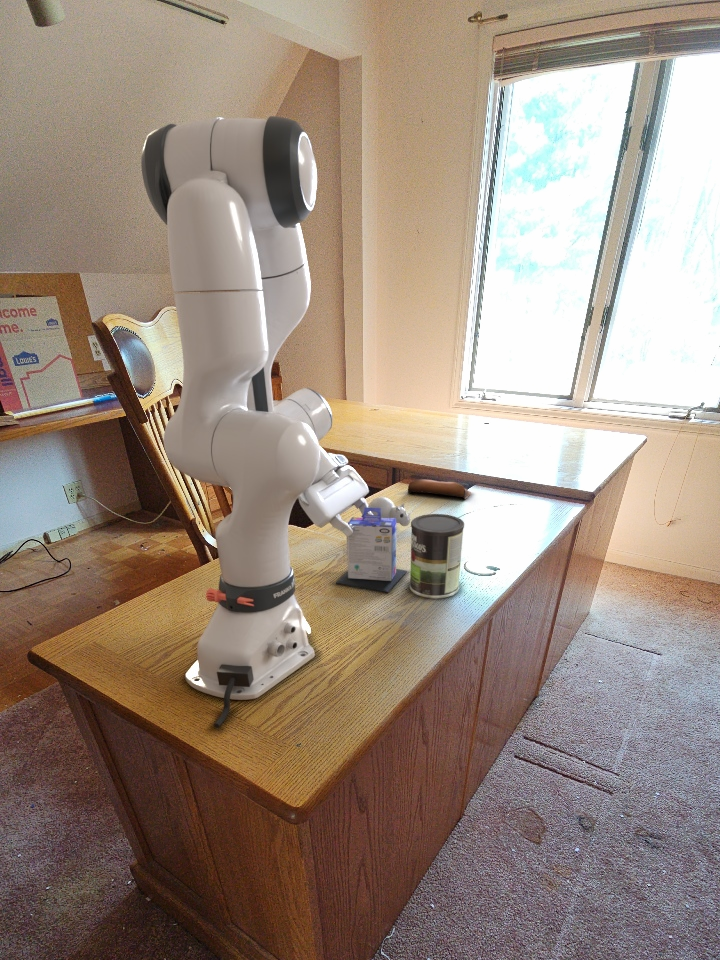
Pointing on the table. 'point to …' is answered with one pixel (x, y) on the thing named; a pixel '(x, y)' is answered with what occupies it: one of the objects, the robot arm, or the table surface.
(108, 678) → the table surface
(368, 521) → the ink cartridge box
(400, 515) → the chubby cartoon animal
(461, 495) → the sunglasses case
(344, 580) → the coaster
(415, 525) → the coffee can
